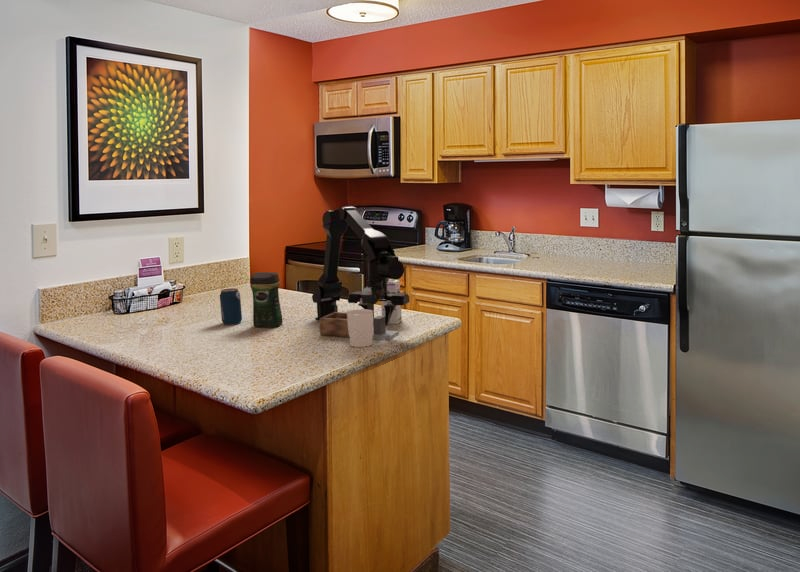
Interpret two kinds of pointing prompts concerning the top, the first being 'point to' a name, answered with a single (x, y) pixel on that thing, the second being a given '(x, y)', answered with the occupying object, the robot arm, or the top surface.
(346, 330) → the walnut box
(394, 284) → the syrup box
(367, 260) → the robot arm
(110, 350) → the top surface
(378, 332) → the cover plate
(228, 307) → the soda can
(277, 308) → the coffee jar
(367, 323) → the beige cup
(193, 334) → the top surface
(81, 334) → the top surface
